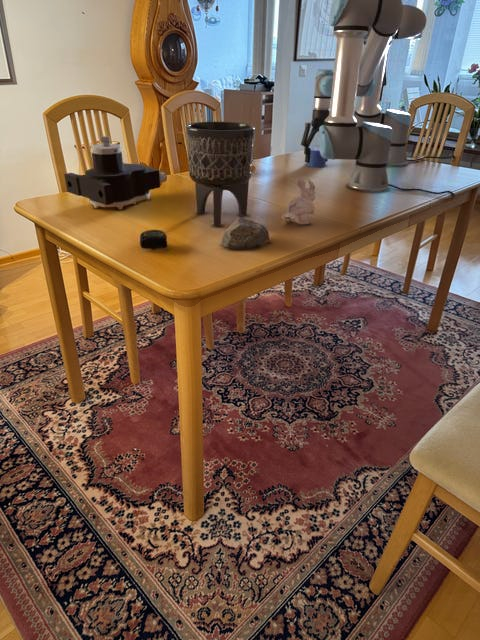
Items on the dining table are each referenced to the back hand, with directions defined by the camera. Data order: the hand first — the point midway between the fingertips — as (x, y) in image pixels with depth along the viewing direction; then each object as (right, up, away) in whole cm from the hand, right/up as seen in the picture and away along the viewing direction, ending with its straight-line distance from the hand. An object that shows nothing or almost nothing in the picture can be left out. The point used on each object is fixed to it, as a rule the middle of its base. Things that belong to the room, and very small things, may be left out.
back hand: (372, 99), depth 240 cm
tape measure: (-92, -99, -123) cm, 183 cm away
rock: (-68, -97, -119) cm, 168 cm away
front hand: (-35, -43, -28) cm, 62 cm away
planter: (-77, -85, -99) cm, 152 cm away
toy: (-69, -53, -44) cm, 98 cm away
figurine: (-53, -87, -102) cm, 144 cm away
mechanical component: (-109, -76, -86) cm, 159 cm away
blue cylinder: (-35, -44, -27) cm, 62 cm away
